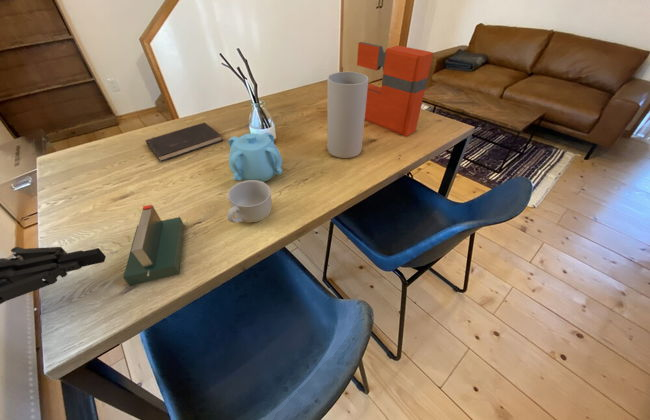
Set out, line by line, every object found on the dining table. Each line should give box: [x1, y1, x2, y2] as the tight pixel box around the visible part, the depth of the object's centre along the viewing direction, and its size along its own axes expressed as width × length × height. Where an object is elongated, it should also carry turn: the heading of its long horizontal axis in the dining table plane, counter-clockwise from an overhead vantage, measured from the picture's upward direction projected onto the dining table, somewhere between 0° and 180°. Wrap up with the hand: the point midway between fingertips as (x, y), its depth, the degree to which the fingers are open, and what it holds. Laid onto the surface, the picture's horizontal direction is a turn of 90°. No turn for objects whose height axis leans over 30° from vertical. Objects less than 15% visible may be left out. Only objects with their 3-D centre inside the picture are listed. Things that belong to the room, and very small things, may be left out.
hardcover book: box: [144, 122, 223, 163], centre depth 105 cm, size 16×23×2 cm
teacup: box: [226, 180, 273, 224], centre depth 72 cm, size 14×11×8 cm
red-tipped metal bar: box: [130, 204, 163, 269], centre depth 62 cm, size 14×2×6 cm, turn 17°
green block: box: [109, 216, 197, 286], centre depth 65 cm, size 18×18×3 cm
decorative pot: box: [228, 132, 283, 183], centre depth 86 cm, size 16×16×14 cm
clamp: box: [356, 41, 434, 137], centre depth 110 cm, size 9×35×28 cm, turn 44°
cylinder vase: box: [326, 71, 369, 159], centre depth 92 cm, size 12×12×25 cm
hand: (101, 255), depth 55 cm, fingers closed
